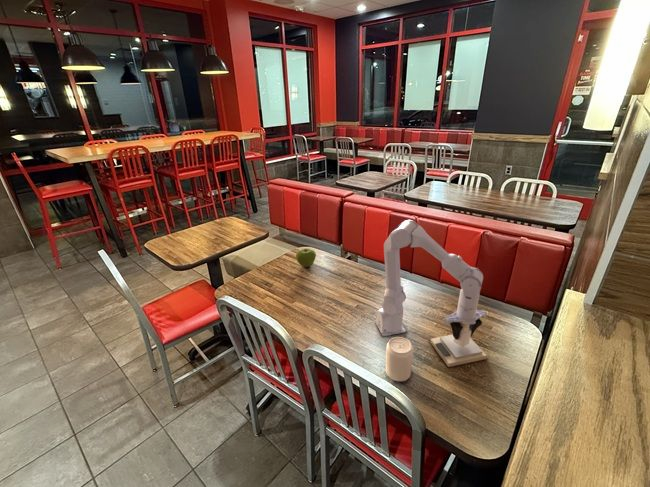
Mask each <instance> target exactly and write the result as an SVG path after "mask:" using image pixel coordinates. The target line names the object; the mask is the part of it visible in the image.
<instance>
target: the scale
mask: <svg viewBox="0 0 650 487" xmlns="http://www.w3.org/2000/svg"><path fill="white" fill-rule="evenodd" d="M453 339H454V337H453V334H449V335H443V336H438V337H433V338H430V340H429V341H430V344H431V345H432V347H433V348H434V349H435V351H436V353H437V354H438V355H439V357H440V358H441V359H442V360H443V361H444V363H445V364H446V366H447V368H450V367H451V368H452V367H455V366H460V365H464V364H469V363H474V362H479V361H484V360H486V359H487V356H488V355H487V354H486V353H485V352H484V351H483V349H482V348H481V347H479V345H478V344H477V343H476V342H475V341H474V340H473V339H472V337H470V342H469V344H468V345H466V346H464V347H460V346H459V345H457V344H456V343H455V342H454V341H453Z"/></svg>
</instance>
